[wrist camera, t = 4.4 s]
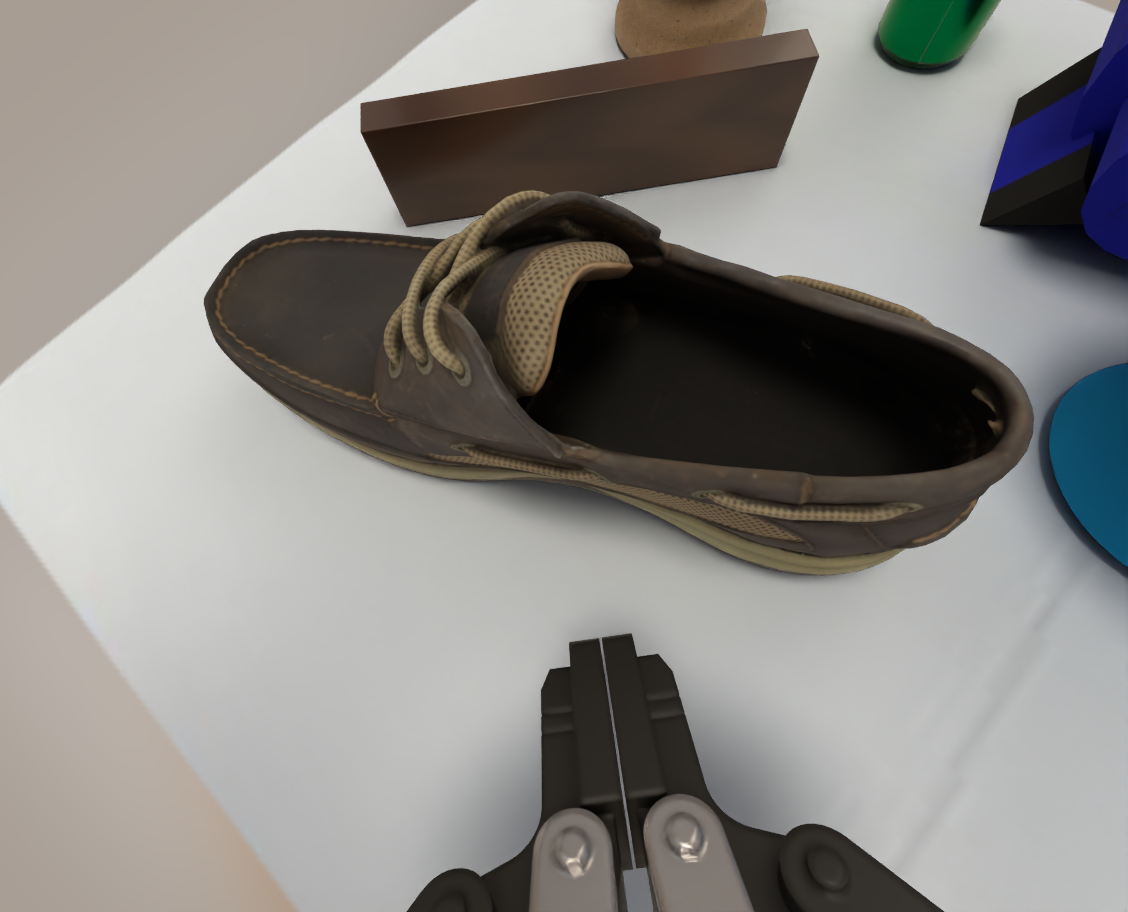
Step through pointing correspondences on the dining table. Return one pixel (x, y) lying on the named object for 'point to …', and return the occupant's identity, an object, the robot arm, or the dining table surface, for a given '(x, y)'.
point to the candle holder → (685, 24)
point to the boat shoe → (630, 377)
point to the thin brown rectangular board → (591, 127)
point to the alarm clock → (1071, 149)
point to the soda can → (932, 29)
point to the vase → (1095, 455)
